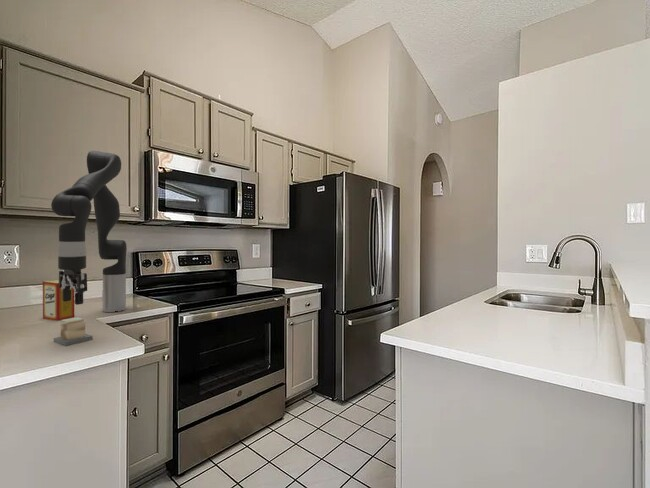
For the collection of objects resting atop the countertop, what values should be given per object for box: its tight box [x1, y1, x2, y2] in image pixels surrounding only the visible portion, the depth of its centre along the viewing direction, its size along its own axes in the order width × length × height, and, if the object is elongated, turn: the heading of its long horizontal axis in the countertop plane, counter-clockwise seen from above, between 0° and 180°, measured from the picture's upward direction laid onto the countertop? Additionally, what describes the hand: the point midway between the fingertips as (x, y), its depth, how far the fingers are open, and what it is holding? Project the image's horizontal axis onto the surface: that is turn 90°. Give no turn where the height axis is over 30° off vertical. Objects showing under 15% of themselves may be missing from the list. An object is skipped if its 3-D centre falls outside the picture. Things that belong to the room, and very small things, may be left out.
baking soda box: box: [42, 279, 75, 322], centre depth 140 cm, size 10×6×16 cm
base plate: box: [53, 333, 94, 347], centre depth 111 cm, size 8×8×1 cm
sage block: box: [60, 316, 85, 324], centre depth 120 cm, size 5×5×5 cm
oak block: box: [60, 320, 86, 340], centre depth 111 cm, size 5×5×5 cm
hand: (72, 302), depth 111 cm, fingers open, 8 cm apart
